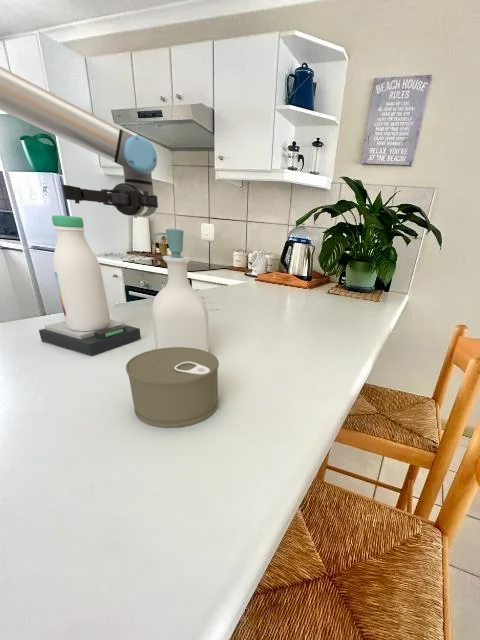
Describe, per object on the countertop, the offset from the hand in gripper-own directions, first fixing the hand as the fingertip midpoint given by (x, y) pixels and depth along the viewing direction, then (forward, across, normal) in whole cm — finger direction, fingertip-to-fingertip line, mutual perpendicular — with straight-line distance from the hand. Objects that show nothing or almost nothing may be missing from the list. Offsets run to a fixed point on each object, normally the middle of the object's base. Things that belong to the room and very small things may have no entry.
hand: (99, 195), depth 70 cm
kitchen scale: (+16, 0, -27) cm, 32 cm away
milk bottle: (+17, 0, -24) cm, 29 cm away
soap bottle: (+23, -20, -27) cm, 41 cm away
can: (+42, -22, -27) cm, 55 cm away
